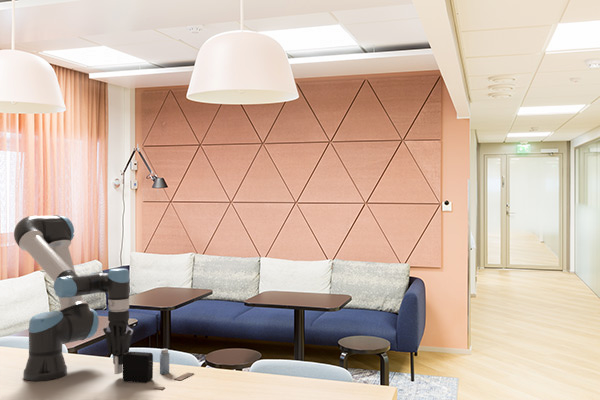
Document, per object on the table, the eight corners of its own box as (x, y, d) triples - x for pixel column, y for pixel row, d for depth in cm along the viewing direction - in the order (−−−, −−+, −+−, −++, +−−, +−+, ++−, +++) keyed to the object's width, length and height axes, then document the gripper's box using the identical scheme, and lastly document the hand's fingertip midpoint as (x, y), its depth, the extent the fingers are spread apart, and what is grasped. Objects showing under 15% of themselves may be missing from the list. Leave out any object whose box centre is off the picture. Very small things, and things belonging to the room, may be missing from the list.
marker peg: (157, 373, 215) (157, 350, 215) (163, 371, 218) (163, 348, 218) (165, 374, 213) (165, 351, 213) (171, 372, 216) (171, 348, 217)
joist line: (154, 388, 196) (154, 388, 196) (187, 373, 215) (187, 372, 215) (161, 390, 195) (161, 389, 195) (194, 374, 214) (194, 373, 214)
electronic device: (147, 383, 203) (147, 355, 203) (122, 381, 205) (122, 354, 205) (152, 379, 207) (153, 352, 207) (128, 378, 209) (128, 351, 209)
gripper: (98, 310, 208) (97, 374, 208) (125, 312, 204) (125, 377, 203) (111, 307, 215) (111, 368, 215) (139, 309, 210) (139, 372, 210)
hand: (118, 373), depth 209 cm, fingers closed
